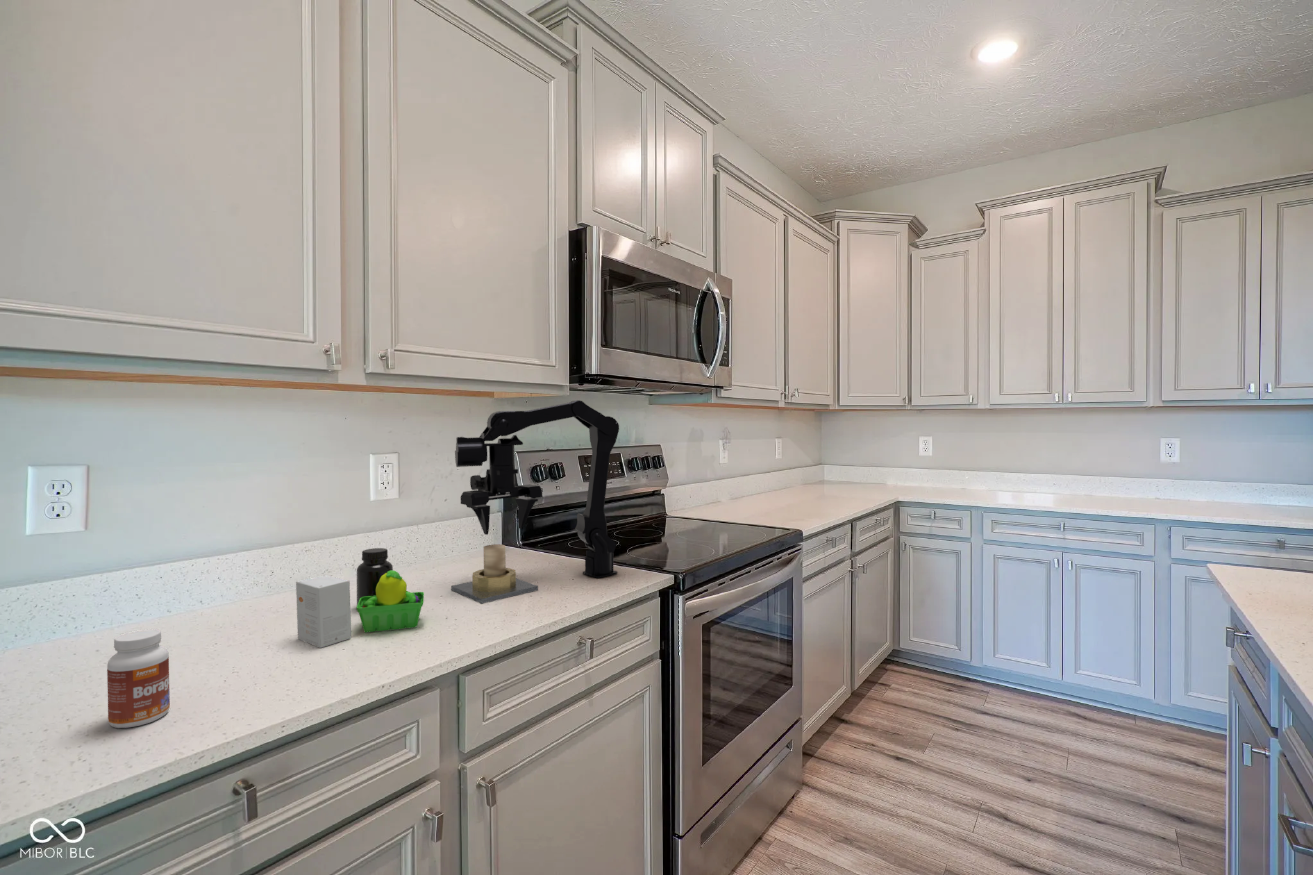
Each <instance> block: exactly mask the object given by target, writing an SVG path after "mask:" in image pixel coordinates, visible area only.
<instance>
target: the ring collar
mask: <svg viewBox="0 0 1313 875" xmlns="http://www.w3.org/2000/svg"><path fill="white" fill-rule="evenodd" d="M516 574H517V573H516V569H513V568H510V567H506V575H502V576H494V577H487V576H484V568H482V569H478V570H476V571H473V572H472V576H471V577H472V581H468V582H463V583H457V584H454V585H450V590H451V591H452V592H455V593H457V594H458V595H459V594H460V595H461V596H463V597H466V598H468V599H471V600H473V601H475V602H477V603H479V604H487V603H490V602H493V601H498V600H502V599H503V600H504V599H506V598H510V597H516V596H519V595H524V594H528V593H532V592H536V591H539V586H538V585H536V584H534V583H531V582H528V581H525V580H523V579H519V578H517V575H516Z"/></svg>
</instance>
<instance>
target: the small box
mask: <svg viewBox="0 0 1313 875" xmlns="http://www.w3.org/2000/svg"><path fill="white" fill-rule="evenodd" d="M350 582H351V581H350V580H347V579H343V578H341V577H337V576H332V575H328V574H325V575H319V576H314V577H311V578H305V579H301V580H297V581H295V588H296V589H295V592H296V593H295V594H296V619H297V622H296V623H297V626H296V628H297V639H298V640H300V641H302V642H305V643H307V644H310V645H313V646H315V647H318V648H319V649H321V648H325V647H327V646H330V645H334V644H337V643H340V642H344V641H346V640H349V639H351V638H352V620H351V619H352V618H351V617H352V615H351V613H352V612H351V590H350V588H351V587H350V584H351V583H350Z"/></svg>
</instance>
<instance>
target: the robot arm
mask: <svg viewBox="0 0 1313 875" xmlns="http://www.w3.org/2000/svg"><path fill="white" fill-rule="evenodd" d="M569 418H574V419H576V420H577V421H578V422H579V423H581V425H582V426H584V427H586V429H588V430H589V431H588V432H589V442H590V446H591V452H592V453H591V461H590V462H591V463H590V471H589V480H588V488H587V496H586V506H585V509H584V511H583V512H582V513H579V512H578V513H576V514H577V515H576V520H577V522H576V526H575V528H574V529H575V531H577V536H578V538H579V539H580V540H581V541H582V542H584V544H585V547H586V548H588V549H587V550H586V552H585V554H586V556H585V557H584V562H585V563H584V566H585V567H584V571H582V574H583V575H585V576H589V577H592V578H596V579H601V578H605V577H606V578H607V577H609V576H614V575H617V574H618V571H617V570H614V552H616V551H615V550H616V547H617V543H616V542H615V541H614V540H613V539H612V538H611V537H610V536H609V535H608V527H607V526H608V524H607V517H606V513H605V502H606V496H607V494H606V493H607V484H608V477H609V469H610V467H609V466H610V458H611V457H610V456H611V453H612V450H613V449H614V446H615V444H616V442H617V440H618V435H619V433H620V424H619V422H618V421H617V420H616V418H614V417H612V416H609V415H607V416H606V415H604V414H603V413H601V412H600V411H598V410H596V409H594V408H592V407H591V406H589V405H588V404H586V403H585V402H584V401H583V400H580V399H579V400H578V399H577V400H570V401H569V402H566V403H558V404H555V405H554V404H553V405H549V406H544V407H540V408H534V409H533V408H532V409H530V410H501V411H500V410H499V411H495V412H492V413H491V414H490V415H489V416H488V417H487V422H486V427H485V429H483V431H482V433H481V434H480V435H479V436H478V437H476V436H475V437H464V436H456V441H455V450H454V460H455V466H456V468H465V467H482V466H483V463H485V462H487V461H488V459H489V462H488V463H489V468H488V469H486V471H485V476H481V475H480V474H479V475H478V474H477V475H476V474H475V475H472V476H470V477H469V478H470V480H469V482H470V483H469V484H470V485H469V486H470V489H471V490H467V491H463V492H462V493H461V495H460V504H461V505H464V506H466V508H469V509H471V510H472V511H473V512H474V514H475V515H476V517H477V519H478V522H479V524H480V527H481V529H482V531H483V534H484V535H486V536H487V535H489V531H490V520H491V519H490V514H491V505H487V504H488V503H489V501H495V500H504V499H509V498H510V499H512V498H514V500H515V501H516V505H517V524H518V529H521V530H522V529H523V528H524V526H525V524H526V522H527V520H528V517H529V515H530V513H531V511H532V509H533V507H534V505H535V503H536V502H539V498H543V495H544V494H543V488H542V487H541V486H540V485H537V484H522V485H517V486H516V475H517V474H519V469H518V468H515V463H516V462H515V457H516V456H515V446H523V445H524V442H523V441H522V440H521V439H520V438H518V436H517V434H515V433H517V432H520V431H522V430H524V429H526V428H529V427H532V426H536V425H541V424H545V423H550V422H556V421H560V420H564V419H569ZM512 434H513V435H512ZM510 435H512V436H511V437H510V438H509V437H508V436H510ZM506 436H507V437H508V438H505V437H506ZM499 437H504V438H499ZM495 440H497V442H494V441H495ZM485 442H487V443H485ZM488 442H489V443H488ZM488 452H489V453H488ZM488 456H489V458H488Z"/></svg>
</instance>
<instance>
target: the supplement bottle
mask: <svg viewBox="0 0 1313 875" xmlns="http://www.w3.org/2000/svg"><path fill="white" fill-rule="evenodd" d="M387 559H389V555H388V549H387V548H384V547H377V548H376V547H374V548H366V549H363V550H362V551H361V561H362V563H360V564H359V565H358V566H357V568H356V606H357V605H358V602H359V600H360V598H362V597H366V596H376V586H377V584H378V582H379V580H380V578H381V576H382V575H384V574H385V573H387V572H388V571H391V570H394V568H393V564H392V562H390V561H388V560H387Z"/></svg>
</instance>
